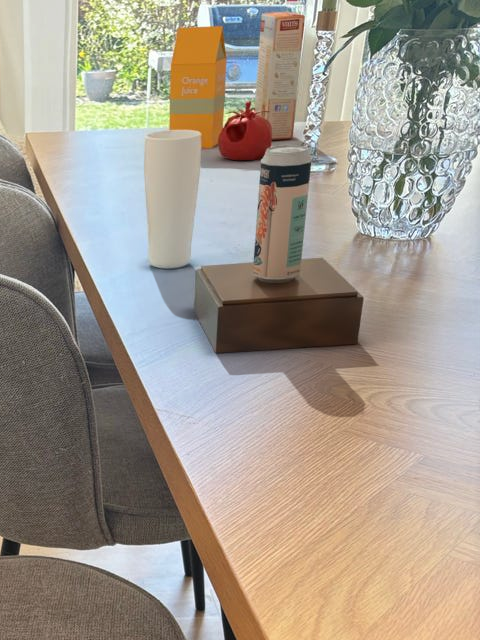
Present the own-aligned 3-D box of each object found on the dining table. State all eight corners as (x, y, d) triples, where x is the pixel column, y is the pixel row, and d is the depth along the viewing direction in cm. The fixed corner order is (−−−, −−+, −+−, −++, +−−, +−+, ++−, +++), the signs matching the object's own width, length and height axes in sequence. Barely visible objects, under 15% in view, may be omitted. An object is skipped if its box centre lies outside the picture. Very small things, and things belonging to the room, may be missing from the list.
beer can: (255, 271, 104) (264, 144, 97) (302, 272, 102) (315, 144, 95) (248, 284, 100) (258, 153, 93) (297, 285, 99) (310, 153, 92)
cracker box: (294, 139, 194) (306, 13, 182) (263, 141, 194) (273, 16, 182) (281, 128, 205) (291, 9, 193) (251, 130, 206) (260, 12, 194)
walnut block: (320, 302, 109) (326, 255, 107) (357, 344, 98) (364, 292, 95) (193, 311, 110) (195, 264, 107) (215, 353, 99) (218, 302, 96)
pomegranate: (255, 150, 187) (259, 95, 182) (281, 158, 179) (286, 100, 174) (207, 156, 185) (209, 100, 180) (230, 165, 177) (234, 106, 172)
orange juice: (180, 140, 202) (183, 26, 190) (222, 141, 198) (229, 24, 187) (168, 147, 196) (171, 29, 184) (211, 148, 192) (217, 27, 181)
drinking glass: (140, 258, 129) (142, 131, 121) (192, 255, 129) (198, 127, 120) (144, 273, 124) (147, 140, 115) (199, 269, 123) (205, 136, 115)
